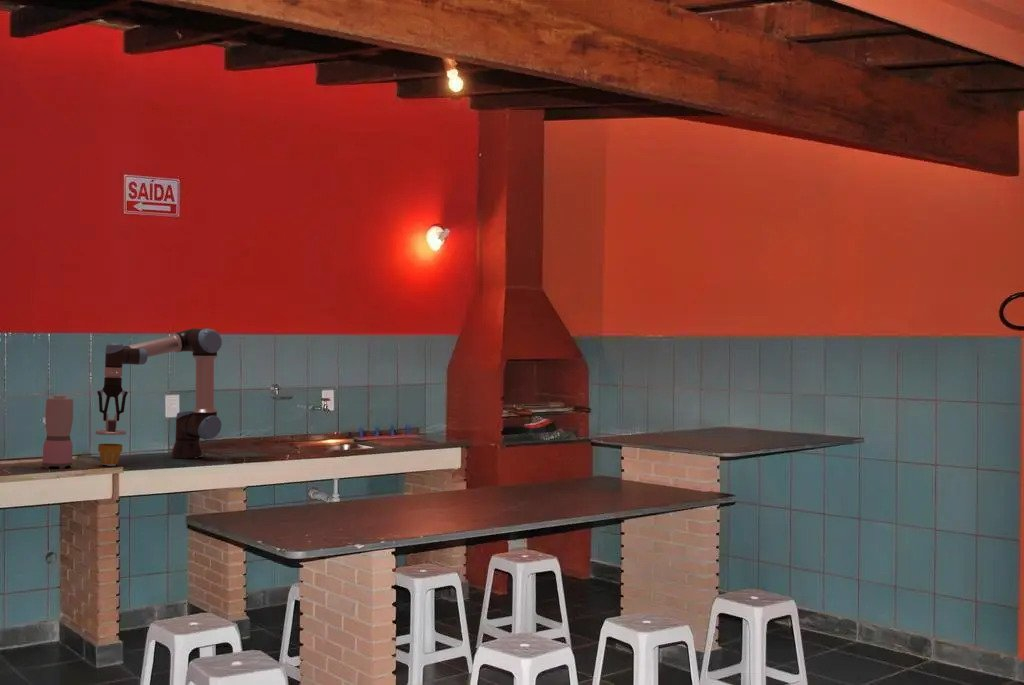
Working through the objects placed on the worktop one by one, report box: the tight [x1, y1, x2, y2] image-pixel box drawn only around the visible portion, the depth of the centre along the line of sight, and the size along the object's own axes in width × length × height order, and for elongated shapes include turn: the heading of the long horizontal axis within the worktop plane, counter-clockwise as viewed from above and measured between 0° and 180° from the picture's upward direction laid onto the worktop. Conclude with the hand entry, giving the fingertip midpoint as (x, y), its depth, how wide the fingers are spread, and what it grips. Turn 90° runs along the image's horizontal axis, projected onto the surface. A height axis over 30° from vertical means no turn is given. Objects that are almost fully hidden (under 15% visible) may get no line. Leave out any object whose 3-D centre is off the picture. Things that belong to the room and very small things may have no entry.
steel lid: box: [95, 419, 126, 436], centre depth 494 cm, size 13×13×6 cm
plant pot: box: [97, 443, 123, 465], centre depth 494 cm, size 10×10×10 cm
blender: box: [41, 394, 74, 470], centre depth 482 cm, size 16×12×32 cm
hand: (110, 428), depth 494 cm, fingers closed on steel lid, 3 cm apart
